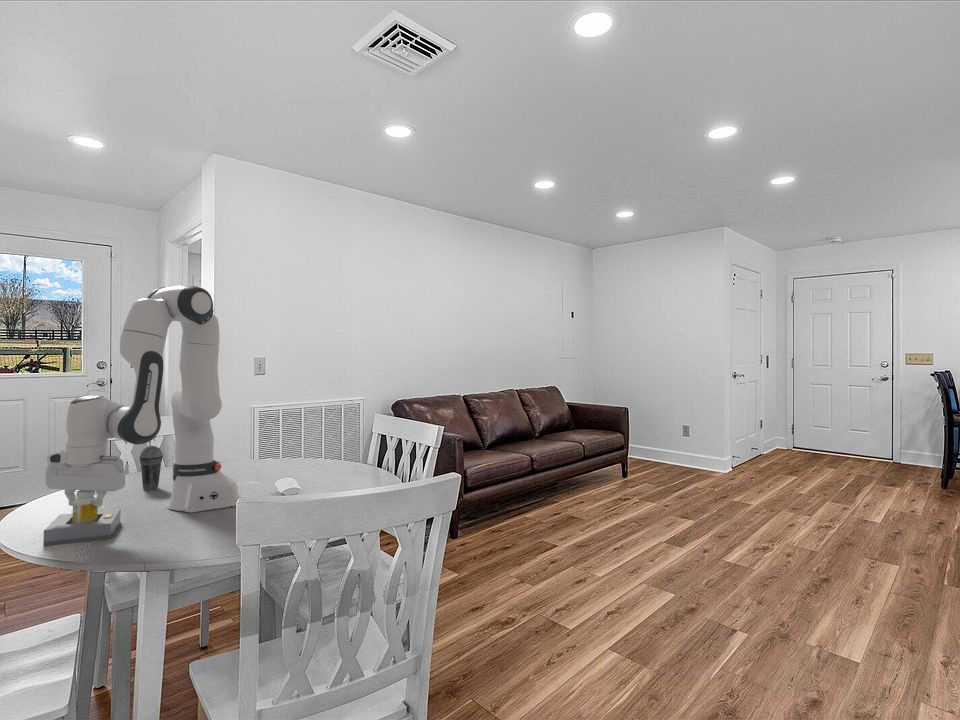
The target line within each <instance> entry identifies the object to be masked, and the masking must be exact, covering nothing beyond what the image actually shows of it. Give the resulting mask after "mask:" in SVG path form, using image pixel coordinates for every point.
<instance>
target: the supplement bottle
mask: <svg viewBox="0 0 960 720" xmlns="http://www.w3.org/2000/svg"><path fill="white" fill-rule="evenodd" d="M75 495H76V498H77V499H75V500H74V501H73V506H72V513H73V518H72V524H74V523H84V522H94V521H97V511H98V508H99V507H93V506H92V504H93V503H92V501H93V500H96V498H97V496H95V495H96V491H92V490H76V494H75Z"/></svg>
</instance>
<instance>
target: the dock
mask: <svg viewBox="0 0 960 720" xmlns="http://www.w3.org/2000/svg"><path fill="white" fill-rule="evenodd" d="M121 509H122V508H115V509H106V510H104V509H103V510H97V521H94V522H84V523H74V524H72V518H73V512H72V513H63V514H59V515H58V516H56V518H55V519H54V520H53V521H51V523H49V525H47V527H45V528H44V529H43V546H44V547H45V546H46V547H47V546H55V545H63V544H65V545H66V544H73V543H82V542H91V541H98V540H99V541H100V540H110V539H112V537H113V535H114V534H115V532H116V530H117V529H118V528H119V526H120V524H121V514H122V513H121V512H122V511H121Z"/></svg>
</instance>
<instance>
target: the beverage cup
mask: <svg viewBox="0 0 960 720" xmlns="http://www.w3.org/2000/svg"><path fill="white" fill-rule="evenodd" d="M148 445H149V446H147V447H145V448H143V449H142V450H141V452H140V454H139V463H140V468H141V469H140V470H141V481H142V482H141V483H142V490H143V491H154V489H155V490H158V489H159V484H160V476H161V475H160V474H161V467H162V462H163V457H164V455H163V451H162V450H161V449H160V448H159V447H158V446H155V445H152V440H151V441H149V442H148ZM157 488H158V489H157Z"/></svg>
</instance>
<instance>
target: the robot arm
mask: <svg viewBox="0 0 960 720" xmlns="http://www.w3.org/2000/svg"><path fill="white" fill-rule="evenodd" d="M214 311H215V310H214V301H213V298H212V296H211V294H210V293H209V291H207V290H206V289H205V288H203V287H200V286H196V285H174V286H167V287H166V286H163V287H158V288H156V289H154V290H152V291H151V292H150V293H148V296H146V298H140V299H137V300H136V301H134V302H133V303H132V306H131V307H130V309H129V311H128V313H127V315H126V318H125V321H124V324H123V327H122V331H121V334H120V338H119V353H120V355H121V357H122V358H123V359H124V360H125V361H126V362H127V363H128V364H129V365H130V366H131V367H132V368H133V370H134V373H135V385H134V391H133V397H132V403H131V405H125V404H123V403H122V404H121V403H118V402H115V401H113V400H110V399H108V398H107V397H105V396H104V395H102V394H92V395H86V396H85V395H84V396H80V397H77V398H75V399H73V400H72V401H71V402H70V403H69V405H68V408H67V414H66V423H65V425H66V427H65V430H66V433H67V441H66V442H65V449H63V450H61V451H59V452H58V451H57V452H54V453H52V454H48V455H47V456H46V461H47V463H48V464H47V465H46V469H45V479H44V480H45V486H46V488H47V489H48V490H64V495H65V496H66V498H67V500H68V506H70V507H71V506H72V507H73V501H74V500H75V499H77V496H76V494H75V493H76V492H77V491H80V490H92V491H95V495H97V496H96V500H93V501H92V503H93V504H92V506H93V507H98V508H99V507H101V506H103V500H104V498H105V496H106V495H107V494H108V492H117V491H119V490H123V488H124V487H125V486H126V474H125V468H124V461H123V460H122V459H121V458H120V457H119V456H118V455H114V456H110V455H107V452H108V451H107V448H108V447H107V446H108V445H107V444H108V443H107V442H108V440H109V439H115V440H120V441H125V442H126V443H129V444H132V445H144V444H147V443H149V441H151V442H152V440H154V439H155V438H156V436H157V435H159V432H160V431H161V427H162V418H161V413H160V399H161V392H162V391H161V390H162V386H163V385H162V384H163V376H164V350H165V344H166V340H167V335H168V329H169V327H170V325H171V324H172V323H173V322H179V323H180V325H181V328H182V335H181V343H180V353H179V354H180V355H179V365H178V366H179V372H180V381H181V387H180V388H178V389H177V390H176V391H175V392H174V393H173V395H172V397H171V400H170V404H171V411H172V423H173V430H174V438H175V439H174V442H175V446H174V447H175V448H174V449H175V450H174V452H175V453H174V463H173V466H172V480H173V484H172V492H171V496H170V500H169V503H168V505H167V508H168V509H169V510H172V511H179V512H184V513H185V512H186V513H197V512H203V511H210V510H217V509H223V508H230V507H231V506H232V507H236V502H237V500H238V499H239V498H245V499H246V496H245V494H243V493H241V492H239V488H238V485H237V483H236V481H235V480H234V479H233V478H231V477H230V476H229V475H227V474H225V473H223V472H221V469H222V464H221V463H220V461H218V460H215V459H214V455H215V454H214V450H215V449H214V448H215V446H214V445H215V442H214V441H215V437H214V433H213V429H212V424H211V420H212V419H215V418H216V417H217V416H218V415H219V414H220V412H221V411H222V407H223V403H222V398H221V396H220V395H221V393H220V381H219V373H218V372H219V369H218V368H219V356H220V355H219V353H220V337H221V336H220V326H219V324H220V323H219V319H218V317H217V316H216V315H215V314H214Z"/></svg>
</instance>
